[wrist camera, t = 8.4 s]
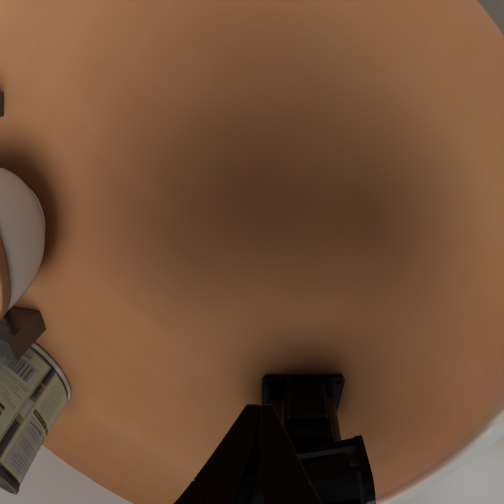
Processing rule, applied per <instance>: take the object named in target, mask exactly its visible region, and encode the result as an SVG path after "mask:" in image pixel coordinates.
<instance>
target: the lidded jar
mask: <svg viewBox="0 0 504 504" xmlns="http://www.w3.org/2000/svg"><path fill="white" fill-rule="evenodd" d="M45 233H46V223H45V216H44V212H43V208H42V206H41V203H40V201H39V199H38V197H37V196H36V194H35V193H34V192H33V190H32V189H31V188H30V187H28V186H27V185H26V184H25V183H24V181H23V180H22V179H21V178H19V177H18V176H17V175H15V174H14V173H12V172H10V171H9V170H7V169H4V168H1V167H0V320H1V319H2V318H3V317H4V315H5V314H6V312H7V311H8V310H9V309H10V308H12V307H13V306H14V305H15V304H16V303H17V302H18V301H19V300H20V298H21V297H22V296H23V295H24V294H25V292H26V291H27V290H28V288H29V287H30V285H31V284H32V282H33V281H34V279H35V277H36V275H37V273H38V270H39V268H40V266H41V262H42V258H43V254H44V247H45Z"/></svg>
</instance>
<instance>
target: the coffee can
mask: <svg viewBox="0 0 504 504" xmlns="http://www.w3.org/2000/svg"><path fill="white" fill-rule="evenodd" d="M70 397H71V389H70V386H69V382H68V380H67V379H66V377H65V375H64V373H63V371H62V370H61V369H60V367H59V366H58V365H57V363H56V362H55V361H54V360H53V359H52V358H51V357H50V355H49V354H47V353H46V352H45V351H44V350H43V349H42V348H41V347H39V346H38V345H37V344H36V343H33V344H32V345H31V346H30V347H29V349H28V350H27V351H26V352H25V353H24V354H23V355H22V357H21V358H20V359H19V360H18V361H14V360H11V359H8V358H5V357H2V356H0V487H1V488H3V489H4V490H6V491H8V492H10V493H13V494H17V493H18V491H19V486H20V484H21V483H22V481H23V479H24V477H25V475H26V473H27V471H28V469H29V467H30V465H31V463H32V462H33V460H34V458H35V456H36V454H37V452H38V450H39V449H40V447H41V445H42V443H43V442H44V440H45V438H46V436H47V435H48V433H49V431H50V429H51V428H52V426H53V424H54V423H55V421H56V419H57V418H58V416H59V414H60V412H61V411H62V409H63V407H64V406H65V404H66V403H67V402H68V401H69V399H70Z"/></svg>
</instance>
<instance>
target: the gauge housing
mask: <svg viewBox="0 0 504 504" xmlns="http://www.w3.org/2000/svg"><path fill="white" fill-rule="evenodd" d="M3 93H4V92H0V117H2V116H4V114H3ZM45 330H46V328H45V325H44V322H43V320H42V317H41V314H40V311H37V310H31V309H25V308H20V307H14V306H13V307H12V308H10V309H9V310H8V311H7V312H6V314H5V315H4V317H3V318H2V319H1V320H0V356H2V357H5V358H8V359H11V360H14V361H18V360H19V359H20V358H21V357H22V355H23V354H24V353H25V352H26V351H27V350H28V349H29V347H30V346H31V345H32V344H33V343H34V342H35V341H36V340H37V339H38V337H39V336H40V335H41V334H42V333H43V332H44V331H45Z"/></svg>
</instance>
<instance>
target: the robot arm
mask: <svg viewBox="0 0 504 504" xmlns="http://www.w3.org/2000/svg"><path fill="white" fill-rule="evenodd" d="M337 380H339V381H337ZM268 381H270V382H268ZM344 382H345V380H344V376H343V375H341V374H333V375H266V376H264V377H263V379H262V405H260V406H259V405H258V404H248V405H246V406H245V407H244V409H243V410H242V412H241V413H240V415H239V416H238V418H237V419H236V421H235V422H234V424H233V425H232V427H231V428H230V430H229V431H228V433H227V434H226V435H225V437H224V438H223V440H222V441H221V443H220V444H219V445H218V447H217V448H216V450H215V451H214V452H213V454H212V455H211V457H210V458H209V459H208V461H207V462H206V463H205V465H204V466H203V468H202V469H201V470H200V472H199V473H198V474H197V476H196V477H195V478H194V481H192V482H191V483H190V485H189V486H188V487H187V489H186V490H185V491H184V492H183V493H182V495H181V496H180V497H179V498H178V499H177V500H176V502H175V503H174V504H376V499H375V488H374V481H373V476H372V472H371V468H370V464H369V460H368V456H367V453H366V449H365V446H364V442H363V438H362V435H359V436H355V437H354V438H350V439H345V440H341V435H340V428H339V422H338V416H337V409H338V406H339V402H340V398H341V394H342V390H343V386H344Z"/></svg>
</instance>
